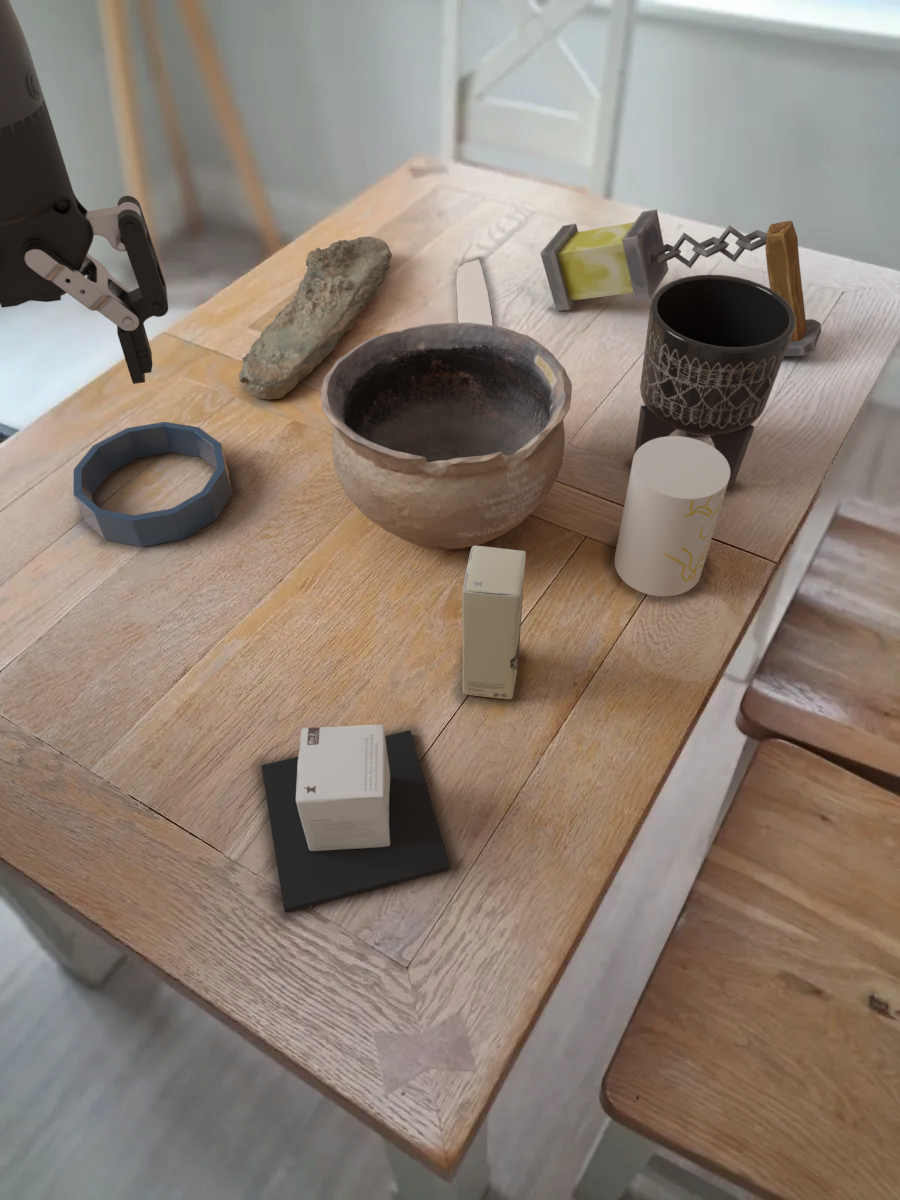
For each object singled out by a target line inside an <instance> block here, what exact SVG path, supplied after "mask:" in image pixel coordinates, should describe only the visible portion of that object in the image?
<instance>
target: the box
mask: <svg viewBox="0 0 900 1200" xmlns="http://www.w3.org/2000/svg"><path fill="white" fill-rule="evenodd" d="M526 556H527V552H526V550H519V549H511V548H501V547H494V546H493V547H492V546H484V545H474V546H471V548H470V552H469V556H468V561H467V565H466V570H465V574H464V581H463V586H462V596H461V597H462V599H461V600H462V605H461V606H462V619H461V621H462V694H463V695H468V696H476V697H484V698H493V699H502V700H512V699H513V698H514V692H515V687H516V681H517V675H518V667H519V666H518V665H519V657H520V656H519V655H520V645H521V644H520V642H521V641H520V640H521V628H522V627H521V625H522V613H523V599H524V598H523V597H524V595H523V594H524V581H525V580H524V577H525V568H526V559H527V558H526Z"/></svg>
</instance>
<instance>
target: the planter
mask: <svg viewBox="0 0 900 1200" xmlns="http://www.w3.org/2000/svg"><path fill="white" fill-rule="evenodd" d="M648 315H649V316H648V322H647V329H646V337H645V347H644V353H643V362H642V370H641V377H640V385H639V386H640V387H639V390H640V396H641V399H642V402H643V404H644V405H640V408H639V415H638V423H637V430H636V438H635V444H634V453H633V455H634V454H635V452H636V451H637V450H638V448H639V447H641V446H642V445H643V444H645V443H646V442H648V441H650V440H653V439H656V438H660V437H666V436H671V434H672V433H674V432H675V431H681V432H684V433H685V435H686V436H690V437H696V438H698V436H709V437H710V439H711V441H712V443H713V445H714V448H715V449H717V450H718V451H719V452H720V453H721V454H722V455H723V456H724V457H725V458H726V460H727V462H728V464H729V466H730V478H729V482H728V485H727V488H726V491H728V490H730V489H731V488H732V487H733V486H735V482H736V480H737V477H738V474H739V472H740V468H741V467H742V463H743V461H744V458H745V455H746V452H747V449H748V447H749V445H750V442H751V439H752V436H753V433H754V431H755V428H756V427H755V425H753V424H754V423H755V422H756V421H757V420H758V419H759V418H760V417H761V416H762V414H763V413H764V411H765V409H766V406H767V403H768V401H769V397H770V395H771V393H772V390H773V387H774V384H775V382H776V379H777V376H778V374H779V371H780V369H781V366H782V363H783V360H784V357H785V356H784V355H785V353H786V350H787V347H788V345H789V342H790V339H791V337H792V334H793V331H794V328H795V324H796V317H795V314H794V311H793V309H792V308H791V306H790V304H789V303H788V302H787V301H786V300H785V299H784V298H783V297H782V296H780V295H779V294H778V293H776V292H775V291H773V290H771V289H770V287H767V286H765V285H763V284H761V283H758V282H757V281H753V280H749V279H746V278H743V277H738V276H737V277H736V276H732V275H723V274H696V275H690V276H685V277H681V278H678V279H675V280H672V281H670V282H669V283H666V284H664V285H663V286H662V287H660V288H659V289H658V290H656V292H655V293H654V294H653V296H652V298H651V301H650V307H649V314H648Z"/></svg>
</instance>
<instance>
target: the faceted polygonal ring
mask: <svg viewBox="0 0 900 1200" xmlns="http://www.w3.org/2000/svg"><path fill="white" fill-rule="evenodd" d="M222 445H223V444H222V443H221V442H220V441H218V440H217V439H216V438H214V437H213V436H212V435H210V434H209V433H208V432H206V431H205V430H204V429H202V428H200V427H199V426H194V425H188V424H187V425H186V424H181V423H176V422H169V421H161V422H154V423H148V424H143V425H138V426H131V427H127V428H124V429H122V430H120V431H118V432H117V433H114V434H112V435H111V436H109V437H108V436H107V438H105V439H103V440H101V441H99V442H96V443H95V444H93V445H92V446H91V447H90V449H88V451H87V452H86V454H85V455H84V456H83V457H82V458H81V459H80V461H79V462H78V463H77V464H76V466H75V467H74V468H73V497H74V499H75V502H76V503H77V506H78V509H79V511H80V513H81V516H82V518H83V520H84V522H85V523H86V524H88V526H90V528H92V529H93V530H94V531H95V532H96V533H97V534H98V535H100V537H101V538H103V540H105V541H108V542H113V543H119V544H124V545H129V546H134V547H139V548H145V547H150V546H151V547H152V546H156V545H161V544H165V543H171V542H177V541H182V540H184V539H186V538H188V537H189V536H191V535H193V534H194V533H196V532H197V531H199V530H201V529H203V528H204V527H205V526H207V525H209V524H210V523H212V522H214V521H216V520H217V519H218V518H219V515H220V514H221V512H222V510H223V509H224V507H225V506H226V504H227V502H229V499H230V498H231V496H232V495H233V494H232V493H233V491H232V487H231V485H232V484H231V479H230V474H229V469H228V465H227V461H226V456H225V453H224V449H223V446H222ZM169 453H172V454H178V455H185V456H190V457H197V458H201V459H202V460H204V461H205V462H206V463H207V464H209V465H210V466H212V468H214V472H213V474H212V475H211V477H210V478H209V479H208V480H207V483H206V484H205V486H204V487H203V489H202V490H201V491H200V492H198V493H196V494H195V495H193V496H190V497H189V498H187V499H186V500H184V501H182V502H181V503H179V504H177V505H175V506H174V507H171V508H166V509H160V510H156V511H155V510H154V511H149V512H145V513H138V514H129V513H124V512H119V511H113V510H108V509H103V508H100V507H99V506H98V505H97V504H96V503H95V502H94V501H93V495H94V494H95V492H96V491H97V490H98V489H99V487H100V486H101V485H102V484H103V482H104V481H105V480H106V479H107V477H108V476H109V474H111V473H113V472H115V471H116V470H118V469H120V468H122V467H124V466H126V465H127V464H129V463H131V462H133V461H135V460H137V459H140V458H146V457H152V456H158V455H165V454H169Z"/></svg>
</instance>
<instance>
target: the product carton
mask: <svg viewBox="0 0 900 1200" xmlns="http://www.w3.org/2000/svg"><path fill="white" fill-rule="evenodd" d="M385 736H386V733H385V725H384V724H375V723H374V724H357V725H342V726H341V725H338V726H319V727H318V726H317V727H302V728H301V730H300V739H299V748H298V756H297V757H298V766H297V784H296V803H297V807H298V811H299V815H300V819H301V822H302V826H303V830H304V833H305V837H306V840H307V844H308V848H309V850H310V851H323V850H339V849H358V848H376V847H387V846H390V833H389V791H390V770H389V762H388V754H387V747H386V740H385Z"/></svg>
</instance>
